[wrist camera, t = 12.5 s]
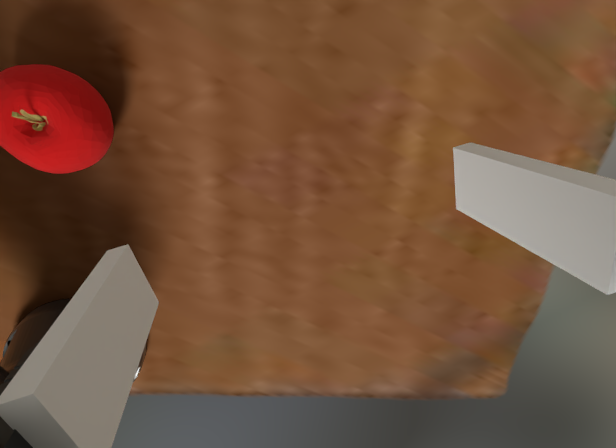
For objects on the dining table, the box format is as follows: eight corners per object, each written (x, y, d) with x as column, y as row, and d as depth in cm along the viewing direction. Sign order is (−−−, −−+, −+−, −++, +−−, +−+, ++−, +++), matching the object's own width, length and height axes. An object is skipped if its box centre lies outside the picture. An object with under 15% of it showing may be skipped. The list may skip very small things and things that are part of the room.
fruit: (142, 108, 35) (109, 119, 26) (98, 177, 36) (52, 210, 27) (47, 42, 31) (-30, 27, 22) (3, 122, 33) (-86, 139, 24)
